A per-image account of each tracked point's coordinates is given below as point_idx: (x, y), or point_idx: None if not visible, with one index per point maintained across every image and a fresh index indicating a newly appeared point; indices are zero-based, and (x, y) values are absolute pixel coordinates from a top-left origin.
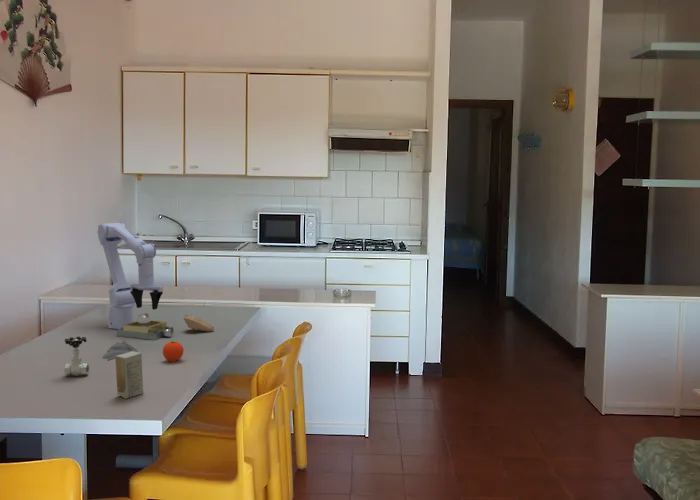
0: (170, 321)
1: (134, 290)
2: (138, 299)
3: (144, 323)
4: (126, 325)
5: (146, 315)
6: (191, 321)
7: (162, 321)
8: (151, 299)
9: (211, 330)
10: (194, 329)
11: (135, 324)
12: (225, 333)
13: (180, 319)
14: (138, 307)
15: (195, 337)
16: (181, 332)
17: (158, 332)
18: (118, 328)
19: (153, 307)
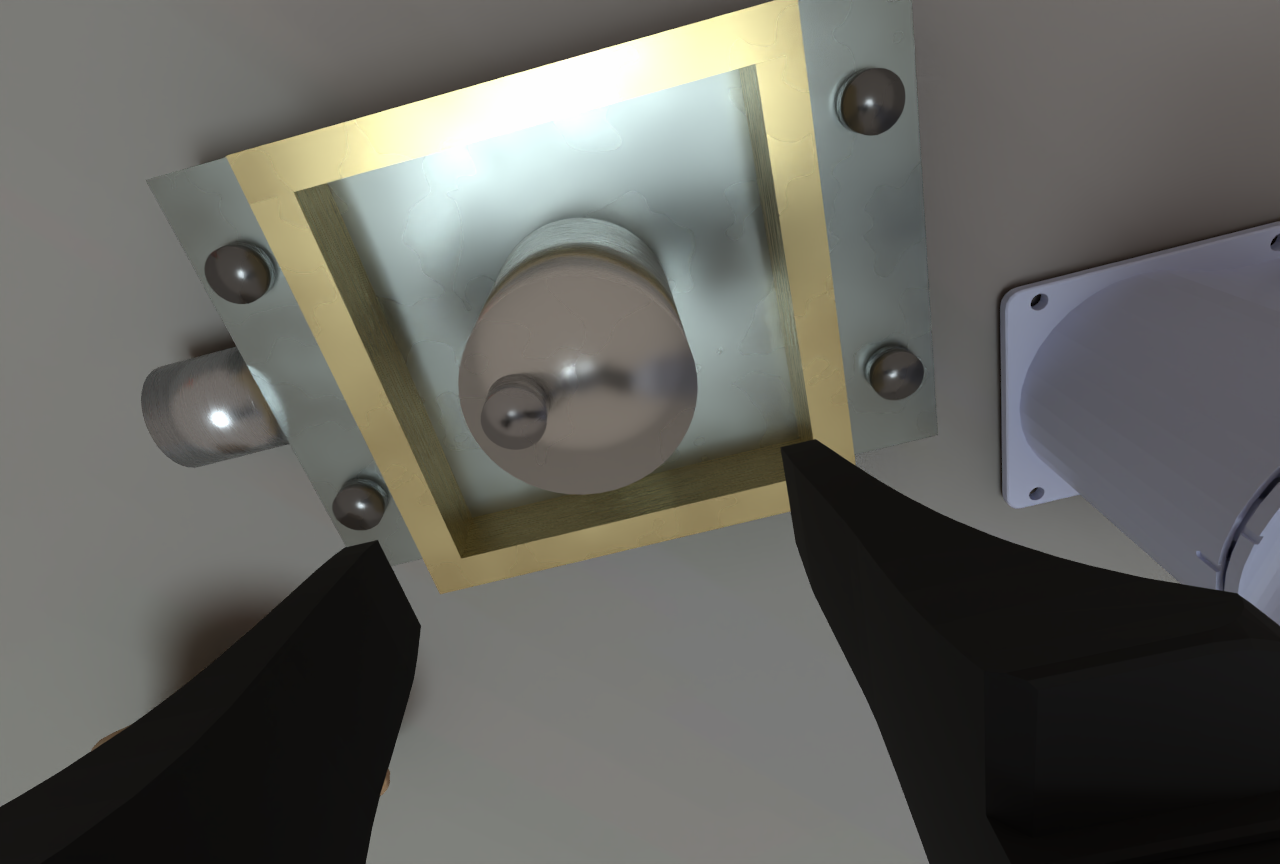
0: (848, 770)
1: (1187, 830)
2: (863, 605)
3: (495, 286)
4: (723, 39)
5: (488, 390)
6: (119, 732)
7: (495, 568)
8: (231, 702)
9: None
10: None
11: (785, 302)
12: (6, 785)
13: (825, 844)
14: (783, 459)
15: (12, 551)
16: None
17: (205, 284)
18: (1129, 261)
19: (322, 570)
